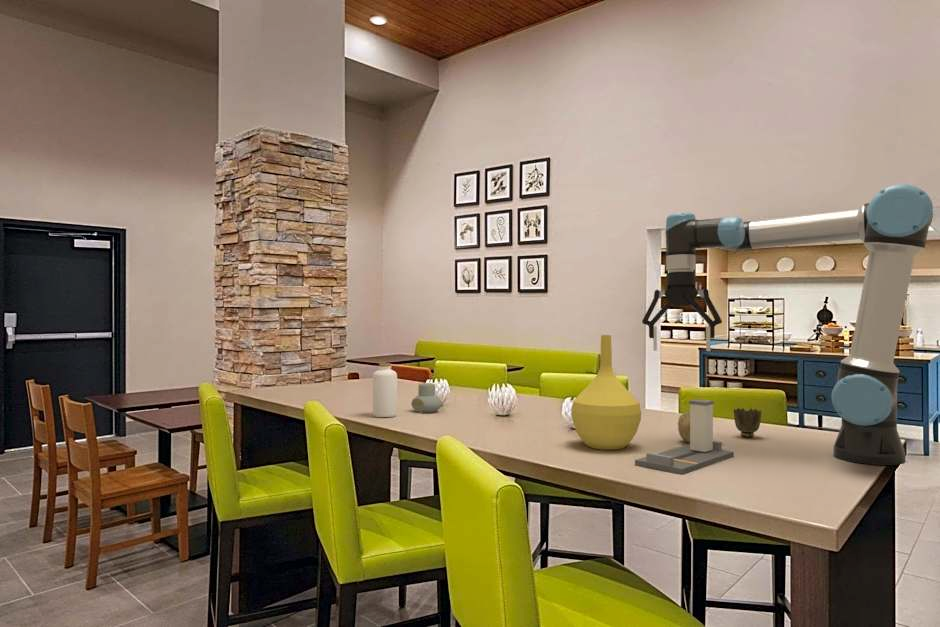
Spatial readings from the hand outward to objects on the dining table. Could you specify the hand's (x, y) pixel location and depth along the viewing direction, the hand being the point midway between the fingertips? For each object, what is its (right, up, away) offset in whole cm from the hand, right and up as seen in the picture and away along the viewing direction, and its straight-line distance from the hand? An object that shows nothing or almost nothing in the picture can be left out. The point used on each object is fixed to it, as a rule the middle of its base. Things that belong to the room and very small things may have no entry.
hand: (681, 350), depth 174 cm
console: (-4, -26, -17) cm, 31 cm away
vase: (-20, -26, 0) cm, 33 cm away
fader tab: (+1, -24, -11) cm, 27 cm away
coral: (+5, -26, +5) cm, 27 cm away
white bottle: (-86, -25, +48) cm, 102 cm away
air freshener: (-72, -25, +58) cm, 96 cm away
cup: (+23, -26, +13) cm, 37 cm away
